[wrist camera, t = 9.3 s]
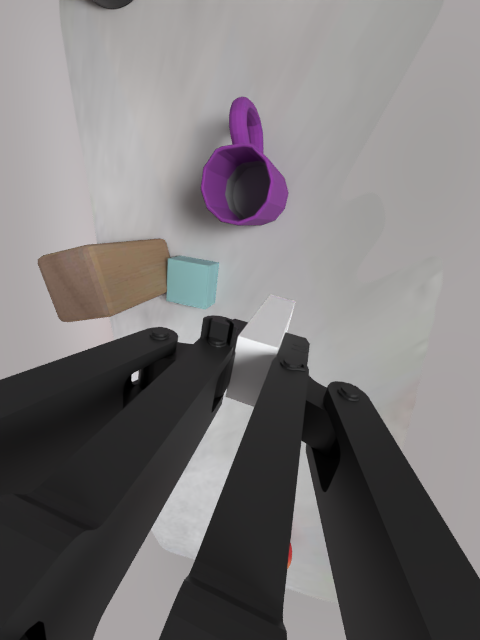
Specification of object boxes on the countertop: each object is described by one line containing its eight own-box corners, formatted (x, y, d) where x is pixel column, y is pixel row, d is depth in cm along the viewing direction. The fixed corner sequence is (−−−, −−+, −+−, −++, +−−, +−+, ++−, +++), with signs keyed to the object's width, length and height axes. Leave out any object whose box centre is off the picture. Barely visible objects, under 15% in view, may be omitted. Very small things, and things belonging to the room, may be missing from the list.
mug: (237, 227, 49) (204, 228, 36) (229, 125, 44) (188, 81, 31) (289, 222, 47) (275, 222, 33) (287, 114, 42) (269, 61, 28)
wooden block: (139, 294, 59) (57, 324, 41) (125, 246, 57) (31, 257, 39) (179, 287, 56) (111, 317, 38) (167, 237, 54) (86, 243, 35)
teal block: (181, 255, 54) (167, 258, 50) (219, 262, 52) (209, 265, 48) (179, 294, 57) (166, 300, 52) (215, 302, 55) (205, 309, 51)
